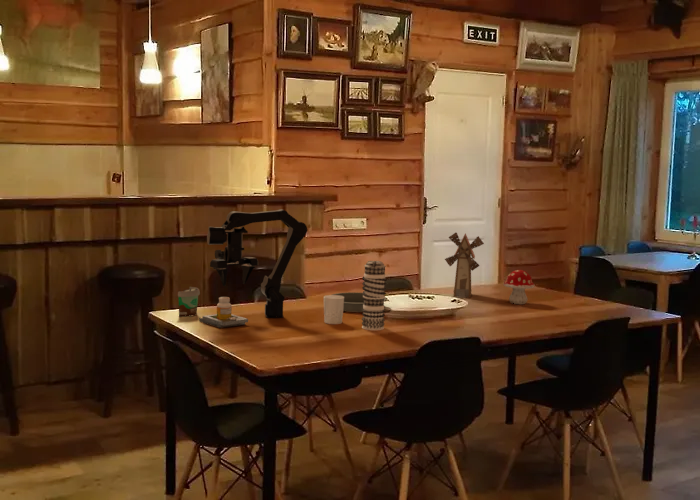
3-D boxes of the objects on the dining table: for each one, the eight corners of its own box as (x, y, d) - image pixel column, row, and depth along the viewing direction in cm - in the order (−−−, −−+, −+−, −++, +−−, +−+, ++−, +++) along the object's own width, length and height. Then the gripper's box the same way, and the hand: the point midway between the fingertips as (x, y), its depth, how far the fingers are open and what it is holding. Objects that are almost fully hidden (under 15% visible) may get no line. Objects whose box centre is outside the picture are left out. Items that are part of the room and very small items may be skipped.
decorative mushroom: (501, 299, 377) (503, 267, 376) (532, 301, 376) (534, 268, 374) (502, 305, 364) (504, 271, 362) (535, 306, 362) (537, 272, 360)
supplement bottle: (217, 321, 312) (217, 296, 311) (231, 321, 312) (232, 296, 311) (216, 324, 306) (216, 298, 305) (230, 324, 307) (231, 299, 306)
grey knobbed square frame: (199, 321, 311) (199, 313, 311) (224, 318, 319) (224, 309, 318) (223, 328, 300) (223, 320, 299) (248, 325, 307) (248, 316, 307)
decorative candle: (368, 331, 302) (370, 263, 299) (356, 326, 310) (358, 260, 308) (389, 329, 307) (392, 262, 304) (377, 324, 315) (379, 259, 312)
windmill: (442, 296, 380) (445, 232, 376) (444, 292, 393) (446, 229, 389) (481, 299, 377) (484, 233, 374) (481, 294, 390) (484, 231, 386)
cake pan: (315, 306, 350) (316, 295, 350) (359, 300, 366) (359, 290, 366) (354, 315, 332) (354, 304, 331) (398, 309, 348) (398, 299, 347)
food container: (192, 318, 317) (192, 292, 316) (177, 317, 318) (177, 291, 317) (204, 312, 329) (204, 287, 328) (190, 311, 330) (190, 286, 329)
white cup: (346, 321, 318) (347, 296, 317) (338, 325, 311) (338, 299, 310) (328, 319, 322) (329, 294, 320) (319, 323, 315) (320, 297, 313)
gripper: (242, 241, 328) (242, 280, 330) (202, 243, 316) (202, 284, 317) (259, 244, 320) (258, 283, 322) (218, 246, 307) (218, 288, 309)
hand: (234, 284), depth 318 cm, fingers open, 9 cm apart
